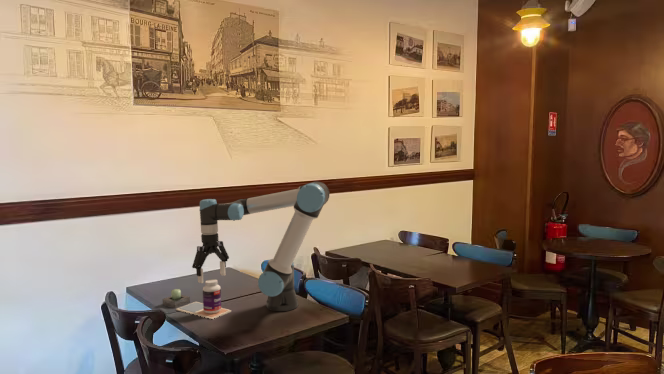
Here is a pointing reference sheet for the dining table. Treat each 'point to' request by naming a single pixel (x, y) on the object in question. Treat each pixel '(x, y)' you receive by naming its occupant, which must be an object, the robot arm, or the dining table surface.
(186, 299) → the button housing
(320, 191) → the robot arm
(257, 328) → the dining table surface
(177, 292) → the button
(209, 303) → the pill bottle
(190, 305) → the board
